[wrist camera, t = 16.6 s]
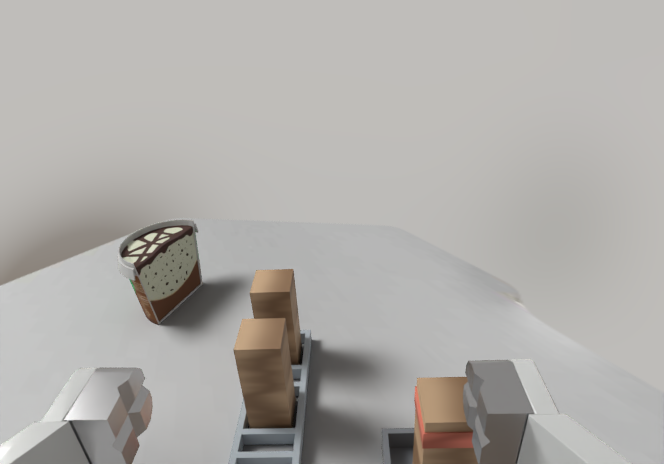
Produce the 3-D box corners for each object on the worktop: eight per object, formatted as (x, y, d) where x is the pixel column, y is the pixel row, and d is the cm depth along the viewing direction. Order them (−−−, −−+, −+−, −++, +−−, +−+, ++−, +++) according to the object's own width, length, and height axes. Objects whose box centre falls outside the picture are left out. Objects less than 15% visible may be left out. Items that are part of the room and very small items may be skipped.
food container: (175, 271, 71) (160, 212, 66) (208, 278, 69) (195, 218, 64) (114, 321, 61) (90, 257, 56) (150, 332, 59) (129, 266, 54)
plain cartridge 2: (251, 434, 45) (233, 349, 40) (257, 401, 49) (242, 319, 43) (292, 434, 45) (280, 348, 40) (295, 400, 48) (285, 318, 43)
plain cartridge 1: (263, 372, 52) (249, 292, 47) (268, 347, 56) (256, 270, 50) (299, 371, 52) (289, 291, 47) (301, 346, 55) (293, 269, 50)
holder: (217, 533, 37) (214, 523, 36) (260, 340, 57) (258, 331, 56) (295, 533, 37) (293, 522, 36) (311, 339, 56) (310, 329, 56)
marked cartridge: (417, 516, 37) (424, 424, 32) (411, 467, 41) (415, 377, 35) (471, 515, 37) (486, 422, 32) (459, 466, 41) (471, 375, 35)
